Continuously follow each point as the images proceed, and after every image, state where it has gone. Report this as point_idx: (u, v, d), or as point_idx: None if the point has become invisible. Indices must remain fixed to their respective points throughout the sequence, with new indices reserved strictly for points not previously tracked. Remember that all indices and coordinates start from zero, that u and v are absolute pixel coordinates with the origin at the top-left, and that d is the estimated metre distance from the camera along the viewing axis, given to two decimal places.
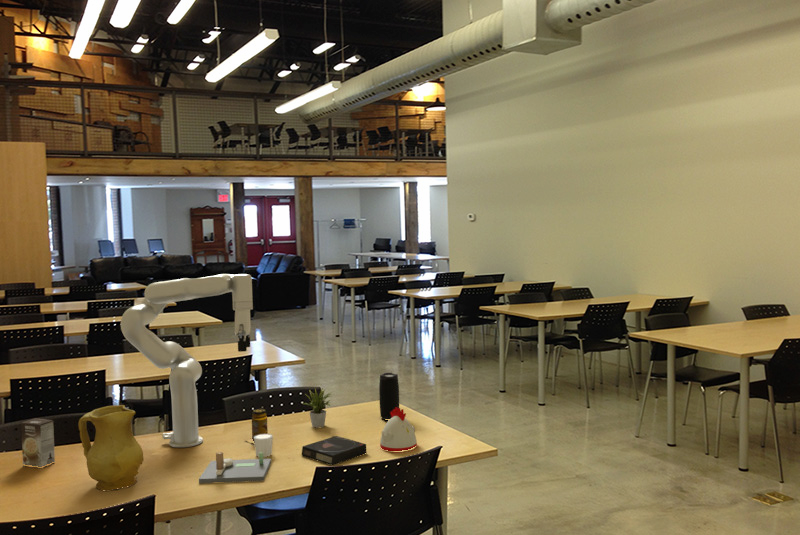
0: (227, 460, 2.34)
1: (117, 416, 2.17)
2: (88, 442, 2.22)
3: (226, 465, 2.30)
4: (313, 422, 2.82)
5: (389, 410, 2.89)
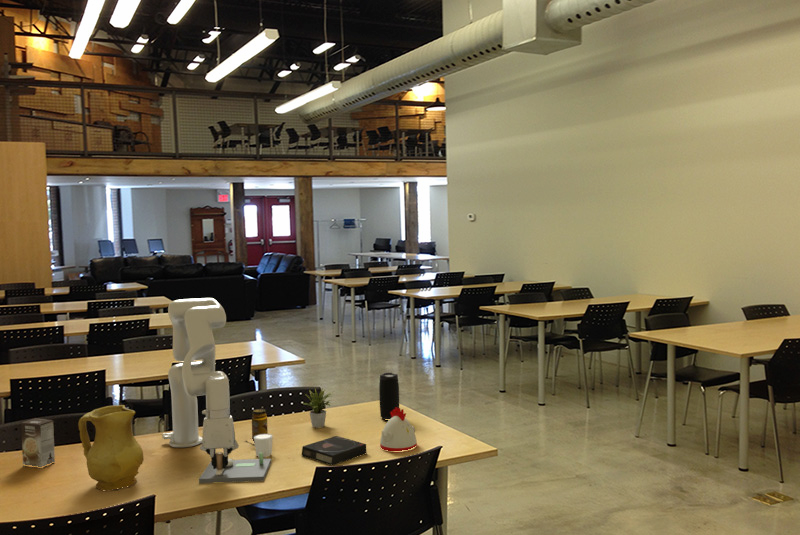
0: None
1: (117, 416, 2.17)
2: (88, 442, 2.22)
3: None
4: (313, 422, 2.82)
5: (389, 410, 2.89)
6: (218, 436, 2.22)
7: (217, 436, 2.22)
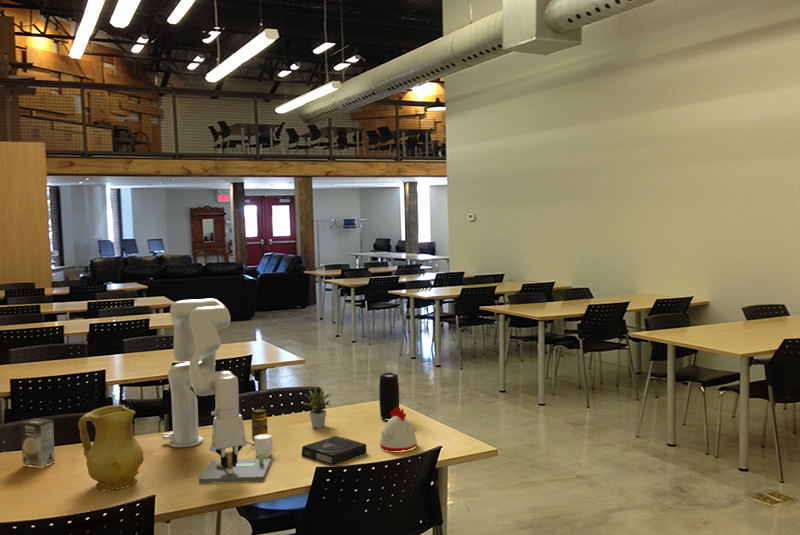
0: None
1: (117, 416, 2.17)
2: (88, 442, 2.22)
3: None
4: (313, 422, 2.82)
5: (389, 410, 2.89)
6: (231, 435, 2.23)
7: (230, 435, 2.23)
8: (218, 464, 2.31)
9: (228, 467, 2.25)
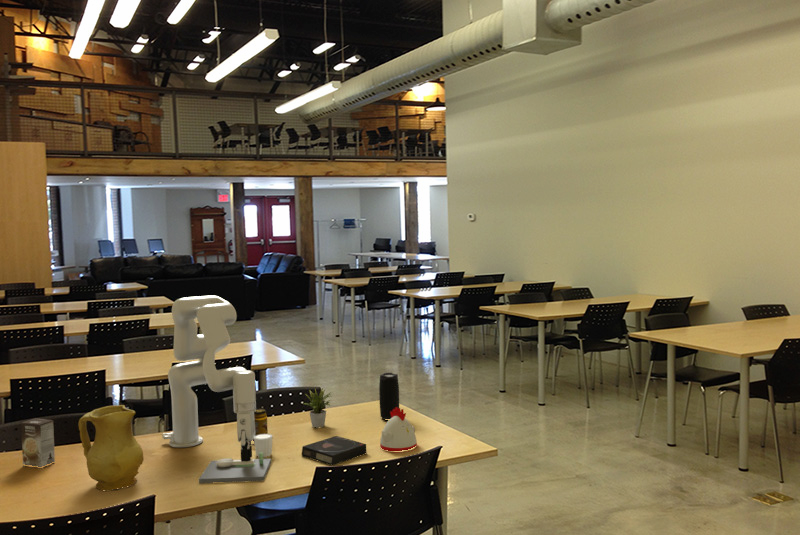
0: (222, 460, 2.34)
1: (117, 416, 2.17)
2: (88, 442, 2.22)
3: None
4: (313, 422, 2.82)
5: (389, 410, 2.89)
6: (253, 426, 2.33)
7: (253, 426, 2.33)
8: (227, 464, 2.31)
9: None
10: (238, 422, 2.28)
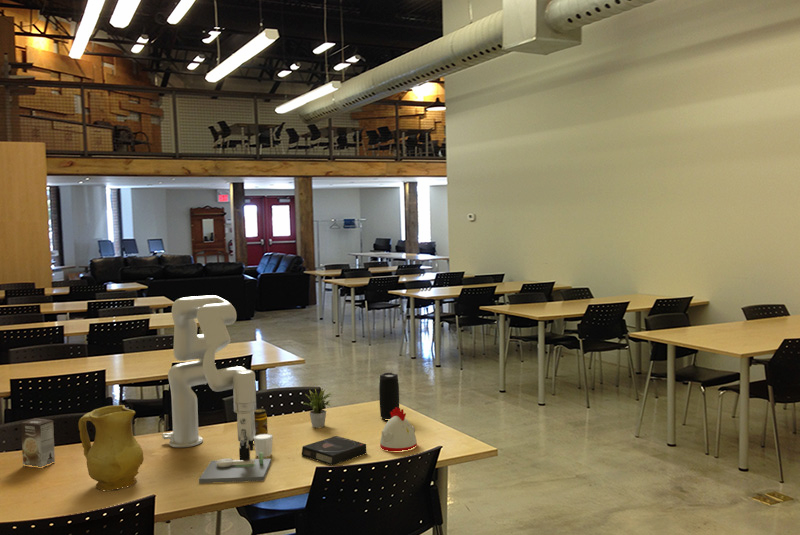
0: (222, 460, 2.34)
1: (117, 416, 2.17)
2: (88, 442, 2.22)
3: None
4: (313, 422, 2.82)
5: (389, 410, 2.89)
6: (254, 425, 2.34)
7: (253, 425, 2.33)
8: (227, 464, 2.31)
9: (249, 459, 2.33)
10: (238, 422, 2.28)
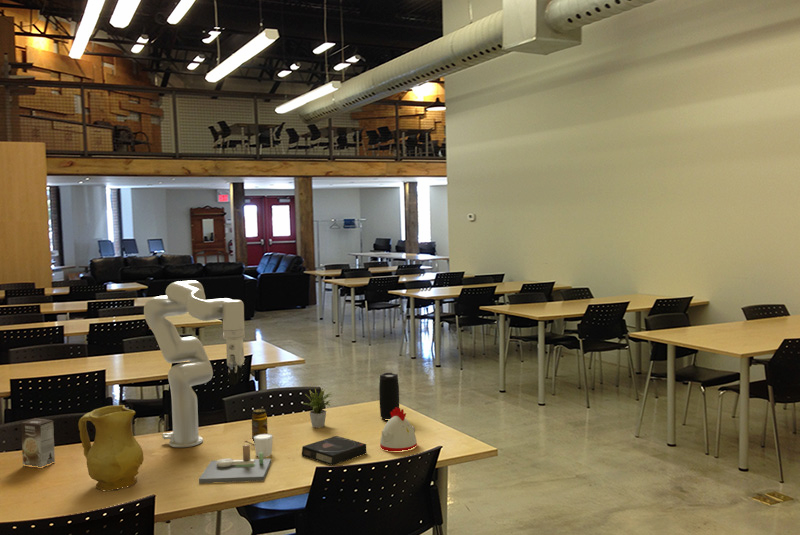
0: (222, 460, 2.34)
1: (117, 416, 2.17)
2: (88, 442, 2.22)
3: None
4: (313, 422, 2.82)
5: (389, 410, 2.89)
6: (242, 352, 2.45)
7: (242, 352, 2.45)
8: (227, 464, 2.31)
9: (249, 459, 2.33)
10: (227, 347, 2.39)
